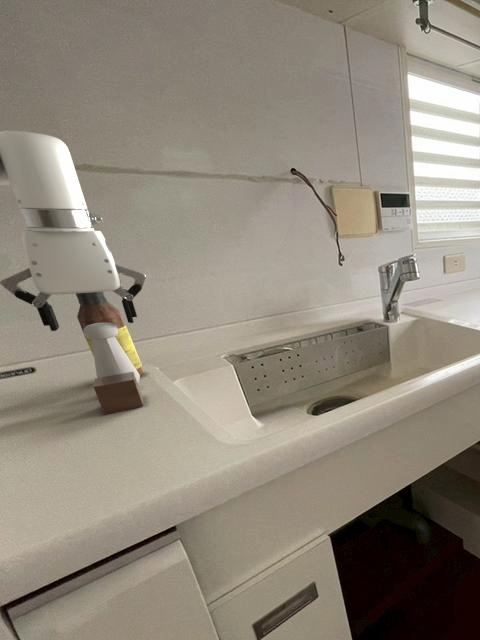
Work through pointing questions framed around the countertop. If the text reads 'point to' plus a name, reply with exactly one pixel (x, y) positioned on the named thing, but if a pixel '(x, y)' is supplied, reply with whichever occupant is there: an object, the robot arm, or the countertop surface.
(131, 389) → the walnut block
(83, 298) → the sauce bottle
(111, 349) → the salt shaker
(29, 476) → the countertop surface
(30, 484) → the countertop surface
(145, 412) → the countertop surface
